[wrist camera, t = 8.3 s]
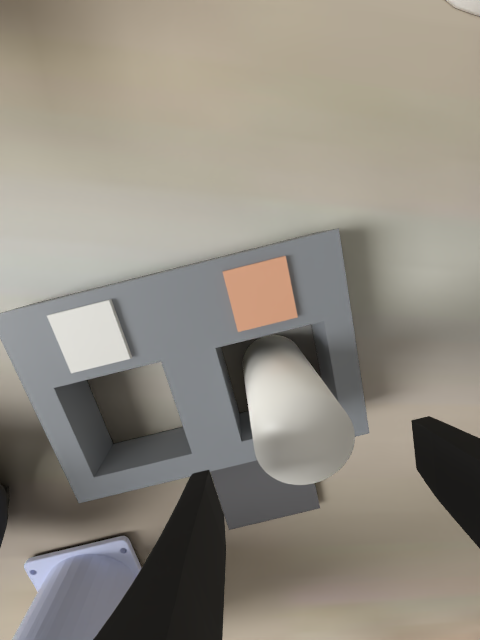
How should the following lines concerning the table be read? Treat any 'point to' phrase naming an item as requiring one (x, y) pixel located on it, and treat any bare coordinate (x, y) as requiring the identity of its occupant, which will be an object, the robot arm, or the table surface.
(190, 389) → the socket board
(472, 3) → the decorative container
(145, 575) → the robot arm
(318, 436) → the plug
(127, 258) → the table surface
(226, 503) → the plug mat
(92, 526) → the table surface
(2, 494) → the muzzle brake
